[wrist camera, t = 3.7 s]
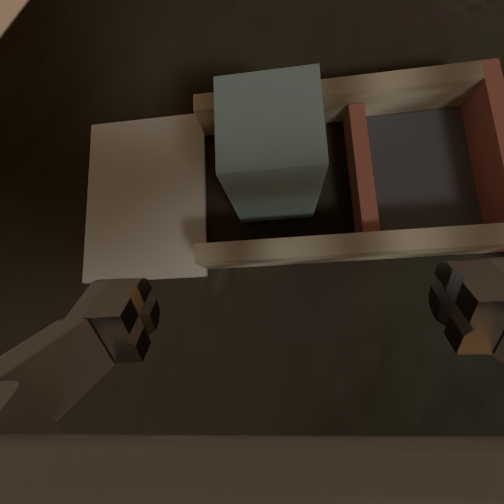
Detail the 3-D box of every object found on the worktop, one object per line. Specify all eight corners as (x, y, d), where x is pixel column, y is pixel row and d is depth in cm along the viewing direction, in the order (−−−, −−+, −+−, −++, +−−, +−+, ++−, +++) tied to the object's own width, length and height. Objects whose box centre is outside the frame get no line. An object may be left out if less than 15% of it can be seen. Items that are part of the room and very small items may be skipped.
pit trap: (358, 260, 20) (370, 252, 17) (341, 106, 22) (349, 75, 19) (501, 251, 19) (540, 241, 16) (469, 92, 21) (498, 58, 18)
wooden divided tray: (207, 269, 21) (194, 263, 18) (204, 121, 23) (193, 94, 20) (484, 252, 19) (519, 243, 16) (454, 94, 21) (481, 60, 18)
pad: (85, 283, 22) (82, 282, 21) (94, 127, 24) (91, 124, 24) (207, 276, 21) (206, 275, 20) (204, 115, 23) (203, 112, 23)
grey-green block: (241, 222, 21) (215, 174, 14) (238, 157, 22) (213, 76, 14) (312, 217, 21) (328, 163, 13) (307, 150, 22) (319, 63, 14)
